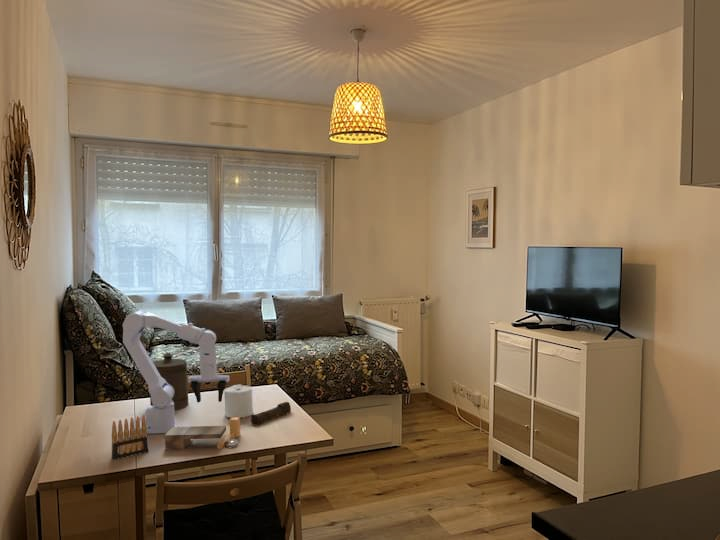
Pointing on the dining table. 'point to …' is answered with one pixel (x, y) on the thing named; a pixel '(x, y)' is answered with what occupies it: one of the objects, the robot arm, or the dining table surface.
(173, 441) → the walnut l-shaped block
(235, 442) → the steel puck
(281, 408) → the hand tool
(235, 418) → the light wooden mallet
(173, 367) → the wooden container
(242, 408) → the toilet tissue
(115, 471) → the dining table surface
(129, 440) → the ammunition clip
